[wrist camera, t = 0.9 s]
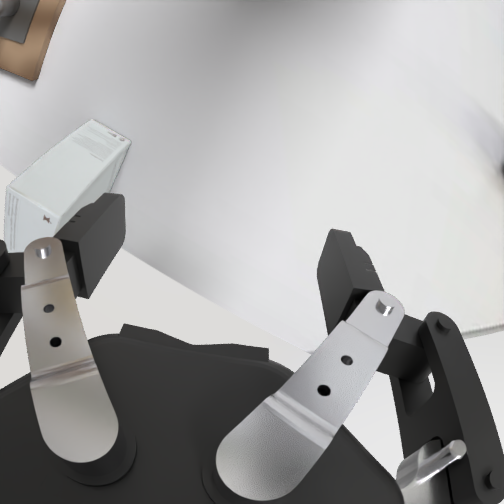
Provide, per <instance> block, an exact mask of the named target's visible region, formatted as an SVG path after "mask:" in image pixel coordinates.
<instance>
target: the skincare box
mask: <svg viewBox="0 0 504 504" xmlns="http://www.w3.org/2000/svg"><path fill="white" fill-rule="evenodd" d="M130 144H131V141H130V140H128V139H127V138H125V137H123V136H121V135H119V134H118V133H116V132H114V131H113V130H111V129H109V128H108V127H106V126H104V125H103V124H101V123H99V122H97V121H96V120H94V119H91V120H89V121H88V122H86V123H85V124H83V125H82V126H80V127H79V128H78V129H76V130H75V131H74V132H72V133H71V134H69V135H68V136H67V137H65V138H64V139H63V140H61V141H60V142H59V143H57V144H56V145H55V146H54V147H52V148H51V149H50V150H49V151H47V152H46V153H45V154H44V155H42V156H41V157H40V158H39V159H38V160H36V161H35V162H34V163H33V164H32V165H31V166H29V167H28V168H27V169H26V170H25V171H24V172H23V173H21V174H20V175H19V176H18V177H17V178H16V179H15V180H14V181H13V182H11V183H10V184H9V185H8V186H7V188H6V201H5V219H4V242H5V243H6V246H7V250H8V252H9V253H14V252H24V250H25V248H26V247H27V245H28V244H30V243H31V242H32V241H34V240H36V239H39V238H43V237H53V236H54V235H55V234H56V233H57V232H58V231H59V230H60V229H61V228H62V227H63V226H64V225H65V224H66V223H67V222H69V220H70V219H71V218H72V217H73V216H74V215H75V214H76V213H77V212H78V211H79V210H80V209H81V208H82V207H84V206H86V205H88V204H90V203H94V202H95V201H96V200H97V199H98V198H99V197H100V196H101V195H102V194H103V193H105V192H106V193H109V192H110V190H111V187H112V185H113V183H114V180H115V178H116V176H117V173H118V171H119V169H120V167H121V164H122V162H123V160H124V157H125V154H126V152H127V150H128V148H129V146H130Z"/></svg>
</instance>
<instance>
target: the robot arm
mask: <svg viewBox="0 0 504 504" xmlns="http://www.w3.org/2000/svg"><path fill="white" fill-rule="evenodd" d="M125 232H126V228H125V200H124V196H123V195H122V194H114V193H106V192H105V193H103V194H102V195H101V196H100V197H99V198H98V199H97V200H96V201H95V202H94V203H90V204H88V205H86V206H84V207H82V208H81V209H80V210H79V211H78V212H77V213H76V214H75V215H74V216H73V217H72V218H71V219H70V220H69V222H67V223H66V224H65V225H64V226H63V227H62V228H61V229H60V230H59V231H58V232H57V233H56V234H55V235H54V236H53V237H43V238H39V239H36V240H34V241H32V242H31V243H30V244H28V245H27V247H26V248H25V250H24V252H14V253H8V250H7V246H6V243H5V242H4V241H3V240H0V356H1V354H2V352H3V350H4V348H5V346H6V345H7V343H8V341H9V339H10V337H11V335H12V334H13V332H14V330H15V328H16V327H17V325H18V323H19V322H20V320H21V318H22V316H23V321H24V331H25V339H26V346H27V353H28V359H29V365H30V371H31V372H30V373H28V374H26V375H25V376H23V377H21V378H19V379H17V380H16V381H14V382H12V383H10V384H9V385H7V386H5V387H4V388H2V389H0V504H498V503H500V502H501V501H502V500H503V499H504V454H503V450H502V447H501V443H500V440H499V436H498V432H497V429H496V425H495V422H494V419H493V416H492V413H491V410H490V407H489V404H488V401H487V398H486V395H485V392H484V390H483V387H482V384H481V382H480V379H479V377H478V374H477V372H476V369H475V366H474V364H473V361H472V359H471V356H470V354H469V352H468V349H467V347H466V345H465V342H464V340H463V338H462V336H461V333H460V331H459V329H458V327H457V325H456V324H455V323H454V321H453V320H452V319H451V318H449V317H448V316H446V315H445V314H442V313H440V312H430V313H428V315H427V316H426V318H425V319H424V321H421V320H418V319H416V318H413V317H410V316H408V315H405V310H404V307H403V305H402V304H401V302H400V301H399V300H398V299H397V298H396V297H394V296H393V295H391V294H389V293H387V292H385V291H384V289H383V287H382V284H381V282H380V280H379V277H378V275H377V273H376V272H375V271H376V270H375V268H374V266H373V265H372V261H371V259H370V257H369V255H368V254H367V253H366V252H365V251H364V250H363V249H362V248H361V247H359V246H356V244H355V241H354V239H353V237H352V235H351V233H350V232H347V231H342V230H336V229H331V230H330V231H329V233H328V236H327V239H326V242H325V245H324V248H323V251H322V254H321V257H320V260H319V263H318V268H317V280H318V285H319V290H320V295H321V300H322V305H323V310H324V316H325V321H326V327H327V332H328V337H327V338H326V339H325V340H324V341H323V343H322V344H321V345H320V346H319V347H318V348H317V349H316V350H315V352H314V353H313V354H312V355H311V356H310V357H309V358H308V359H307V360H306V362H305V363H304V364H303V365H302V366H301V367H300V368H299V369H298V370H297V371H296V372H295V373H294V372H293V371H291V370H290V369H288V368H286V367H285V366H283V365H281V364H279V363H277V362H274V361H272V360H269V349H268V348H261V347H253V346H246V345H239V344H213V345H192V344H189V343H186V342H184V341H181V340H179V339H176V338H174V337H172V336H169V335H167V334H164V333H162V332H159V331H157V330H152V329H147V328H143V327H138V326H133V325H129V324H123V327H122V329H121V331H120V334H107V335H102V336H98V337H94V338H91V339H89V340H87V338H86V335H85V331H84V328H83V325H82V322H81V318H80V315H79V312H78V308H77V304H76V301H75V299H76V297H77V296H78V297H83V298H86V299H89V298H90V296H91V294H92V293H93V291H94V289H95V288H96V286H97V284H98V283H99V281H100V279H101V277H102V276H103V274H104V273H105V271H106V270H107V268H108V266H109V265H110V263H111V262H112V260H113V259H114V257H115V256H116V254H117V252H118V251H119V249H120V248H121V246H122V245H123V242H124V239H125ZM375 371H378V372H381V373H384V374H387V375H389V377H390V382H391V386H392V391H393V396H394V402H395V406H396V412H397V418H398V423H399V430H400V436H401V442H402V449H403V455H404V460H403V461H402V462H401V464H400V465H399V467H398V470H397V478H396V480H395V479H394V478H393V477H392V476H391V474H390V473H389V472H387V470H386V469H385V468H384V467H383V466H381V464H380V463H379V462H378V461H377V460H376V459H375V458H374V457H373V456H372V455H371V454H370V453H369V452H368V451H367V450H366V449H365V448H364V447H363V445H362V444H361V443H360V442H359V441H358V440H357V439H356V438H355V437H354V436H353V435H352V434H351V433H350V432H349V430H348V429H347V428H346V427H345V426H344V425H343V422H344V421H345V419H346V418H347V416H348V415H349V413H350V412H351V410H352V409H353V407H354V406H355V404H356V403H357V401H358V399H359V398H360V396H361V395H362V393H363V391H364V390H365V388H366V387H367V385H368V383H369V382H370V380H371V378H372V377H373V375H374V373H375ZM431 372H432V375H433V378H434V382H435V389H434V392H432V389H431V385H430V382H429V379H428V376H429V374H430V373H431Z"/></svg>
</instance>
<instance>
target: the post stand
mask: <svg viewBox="0 0 504 504" xmlns="http://www.w3.org/2000/svg"><path fill="white" fill-rule="evenodd" d="M65 2H66V0H0V68H1V69H4V70H6V71H9V72H11V73H14V74H16V75H19V76H21V77H24V78H26V79H29V80H31V81H33V80H36V79H38V77H39V74H40V70H41V67H42V64H43V60H44V57H45V54H46V51H47V48H48V45H49V42H50V39H51V37H52V34H53V31H54V29H55V26H56V23H57V21H58V18H59V16H60V13H61V11H62V9H63V6H64V4H65Z"/></svg>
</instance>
